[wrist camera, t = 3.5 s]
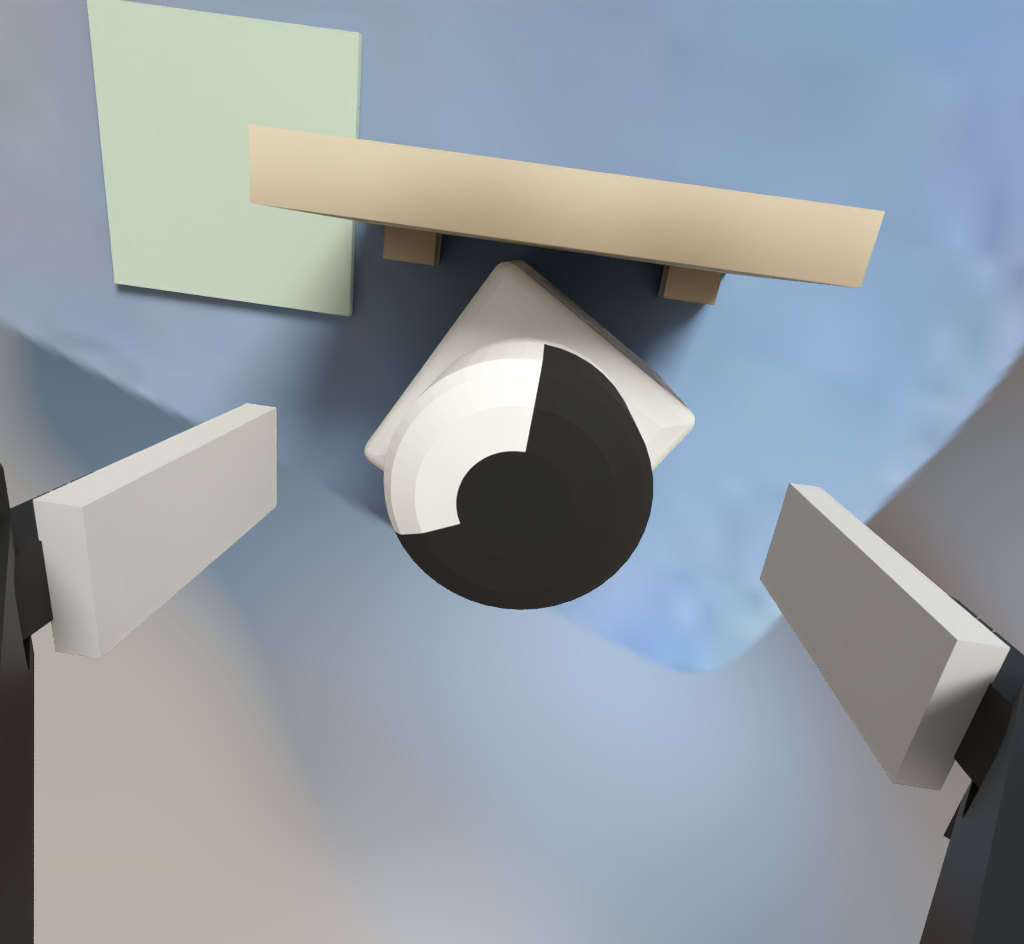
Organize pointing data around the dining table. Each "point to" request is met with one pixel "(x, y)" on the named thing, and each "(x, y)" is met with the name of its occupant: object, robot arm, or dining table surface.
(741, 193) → the screen
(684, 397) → the dining table surface
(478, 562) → the container
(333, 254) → the mat
